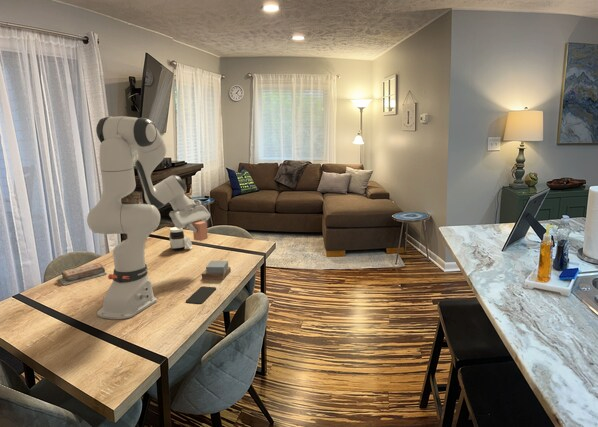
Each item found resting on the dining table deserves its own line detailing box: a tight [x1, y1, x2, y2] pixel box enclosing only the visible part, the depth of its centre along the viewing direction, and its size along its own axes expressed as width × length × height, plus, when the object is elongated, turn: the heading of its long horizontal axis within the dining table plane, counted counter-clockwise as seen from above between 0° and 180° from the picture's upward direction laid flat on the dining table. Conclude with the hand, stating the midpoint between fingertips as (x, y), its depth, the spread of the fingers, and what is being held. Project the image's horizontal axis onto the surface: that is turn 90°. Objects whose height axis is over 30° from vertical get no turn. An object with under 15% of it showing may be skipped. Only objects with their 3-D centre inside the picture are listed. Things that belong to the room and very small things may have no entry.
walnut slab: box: [201, 266, 232, 281], centre depth 184 cm, size 10×10×3 cm
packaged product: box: [57, 262, 108, 286], centre depth 185 cm, size 18×5×10 cm
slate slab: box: [205, 260, 229, 274], centre depth 184 cm, size 8×8×3 cm
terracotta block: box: [192, 221, 209, 242], centre depth 189 cm, size 4×4×8 cm
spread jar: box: [169, 226, 193, 252], centre depth 222 cm, size 12×11×12 cm
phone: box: [185, 285, 217, 305], centre depth 164 cm, size 7×1×15 cm
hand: (201, 230), depth 188 cm, fingers closed on terracotta block, 4 cm apart
